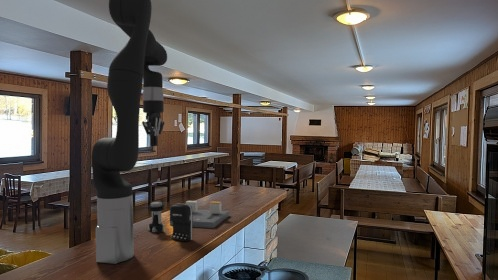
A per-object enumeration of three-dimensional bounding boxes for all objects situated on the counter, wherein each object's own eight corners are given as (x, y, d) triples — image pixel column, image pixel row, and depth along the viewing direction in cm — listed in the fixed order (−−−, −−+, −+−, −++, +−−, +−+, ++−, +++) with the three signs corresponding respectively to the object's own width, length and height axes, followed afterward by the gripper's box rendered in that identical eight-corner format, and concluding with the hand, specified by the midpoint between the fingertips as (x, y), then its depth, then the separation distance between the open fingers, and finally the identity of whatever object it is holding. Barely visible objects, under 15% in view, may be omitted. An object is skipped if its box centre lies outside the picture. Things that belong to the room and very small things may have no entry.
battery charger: (168, 240, 113) (167, 204, 113) (175, 237, 117) (175, 202, 116) (186, 243, 110) (185, 206, 110) (193, 239, 114) (193, 204, 113)
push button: (142, 232, 123) (141, 203, 123) (153, 228, 128) (152, 200, 127) (157, 234, 120) (156, 205, 119) (167, 230, 124) (167, 202, 124)
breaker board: (213, 228, 127) (213, 210, 127) (169, 225, 131) (169, 207, 131) (228, 215, 144) (228, 199, 144) (189, 213, 148) (189, 198, 148)
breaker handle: (219, 213, 138) (219, 203, 137) (209, 213, 139) (209, 202, 138) (221, 212, 140) (221, 201, 140) (211, 211, 141) (211, 201, 141)
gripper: (153, 98, 127) (154, 147, 127) (170, 101, 140) (171, 145, 140) (134, 99, 129) (135, 147, 129) (153, 101, 141) (154, 145, 142)
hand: (154, 146), depth 135 cm, fingers closed
